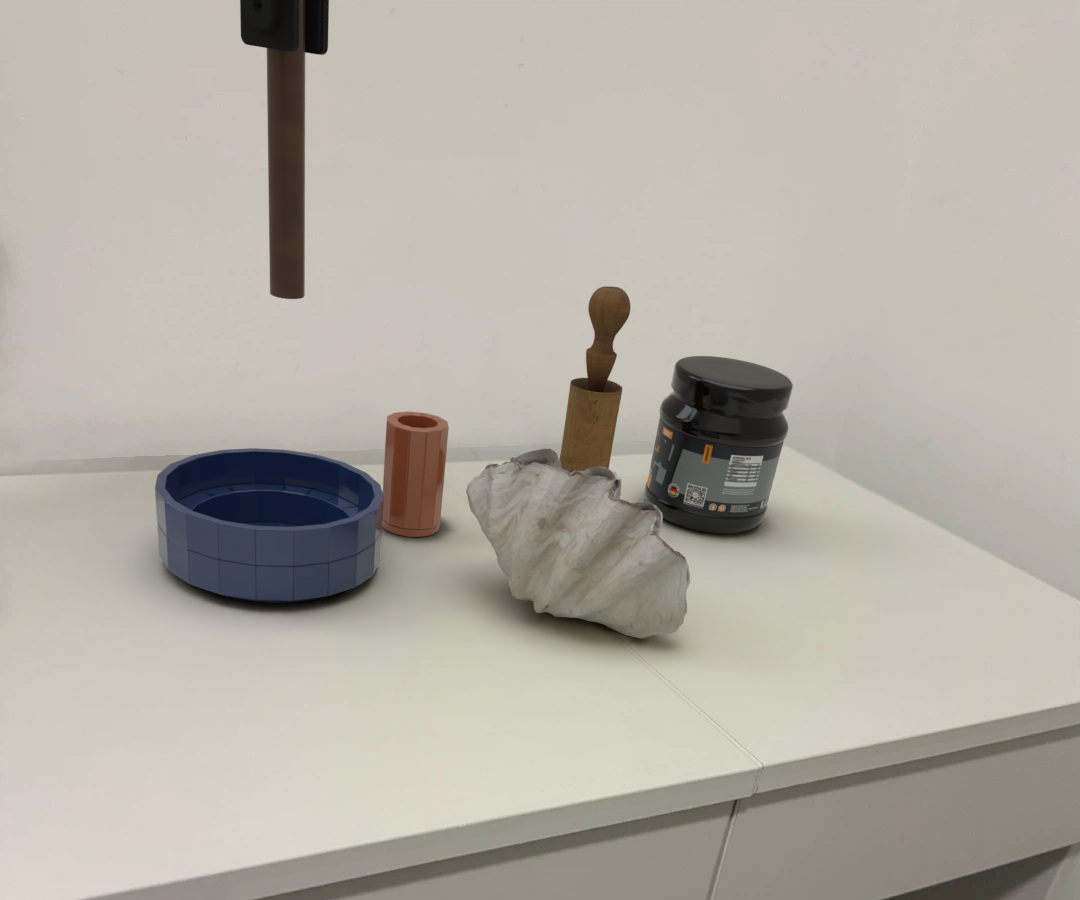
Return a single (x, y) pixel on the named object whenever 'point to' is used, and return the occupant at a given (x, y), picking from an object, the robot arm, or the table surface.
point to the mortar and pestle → (595, 388)
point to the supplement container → (718, 444)
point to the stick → (287, 167)
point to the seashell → (580, 545)
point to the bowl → (269, 524)
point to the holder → (414, 473)
